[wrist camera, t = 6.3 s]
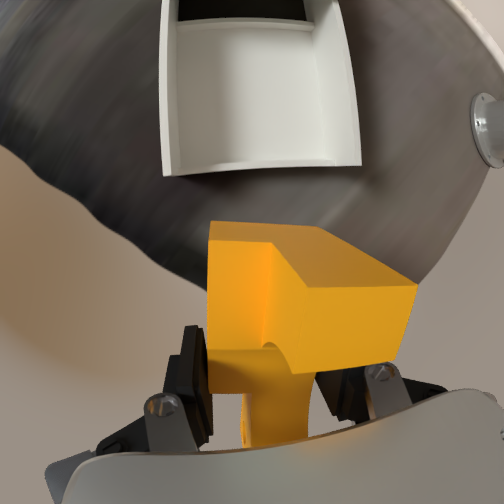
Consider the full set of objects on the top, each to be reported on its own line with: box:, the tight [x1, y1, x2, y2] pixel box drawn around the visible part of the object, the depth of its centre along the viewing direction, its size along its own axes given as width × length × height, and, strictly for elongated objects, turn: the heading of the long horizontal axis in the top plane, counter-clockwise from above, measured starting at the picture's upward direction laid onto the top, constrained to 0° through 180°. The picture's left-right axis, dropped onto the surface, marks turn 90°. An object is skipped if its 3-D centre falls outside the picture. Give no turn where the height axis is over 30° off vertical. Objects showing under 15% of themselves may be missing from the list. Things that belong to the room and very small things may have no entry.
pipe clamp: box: [207, 221, 418, 448], centre depth 9 cm, size 12×4×6 cm, turn 176°
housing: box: [159, 0, 362, 176], centre depth 18 cm, size 15×32×7 cm, turn 4°
